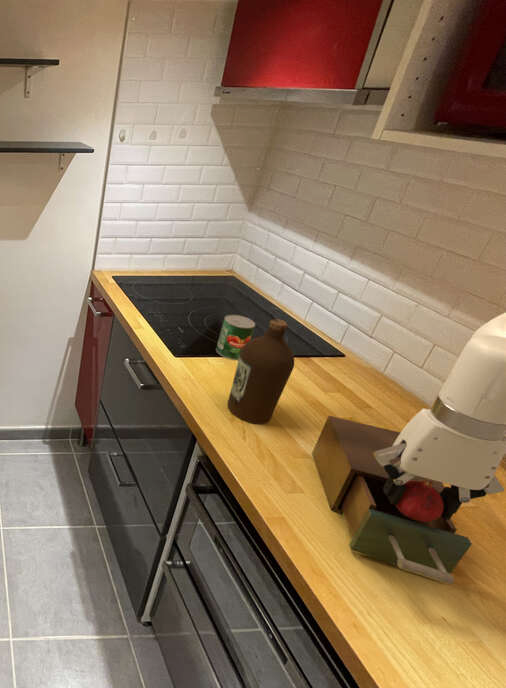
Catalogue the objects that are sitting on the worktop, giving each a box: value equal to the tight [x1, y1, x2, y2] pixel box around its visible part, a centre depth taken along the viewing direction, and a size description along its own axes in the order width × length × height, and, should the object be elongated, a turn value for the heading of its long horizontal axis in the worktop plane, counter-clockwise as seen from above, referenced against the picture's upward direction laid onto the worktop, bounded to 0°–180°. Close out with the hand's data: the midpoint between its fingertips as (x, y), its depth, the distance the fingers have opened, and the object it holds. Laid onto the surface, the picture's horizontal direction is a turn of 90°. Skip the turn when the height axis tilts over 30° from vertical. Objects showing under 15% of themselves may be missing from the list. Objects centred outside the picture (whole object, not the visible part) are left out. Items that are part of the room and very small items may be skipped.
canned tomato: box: [215, 314, 256, 361], centre depth 131 cm, size 8×8×11 cm
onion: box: [396, 479, 444, 522], centre depth 72 cm, size 6×6×8 cm
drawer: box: [340, 473, 473, 586], centre depth 75 cm, size 20×12×9 cm, turn 156°
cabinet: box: [311, 415, 446, 514], centre depth 86 cm, size 16×14×11 cm
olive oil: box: [227, 318, 295, 425], centre depth 104 cm, size 11×11×25 cm
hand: (415, 504), depth 72 cm, fingers closed on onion, 5 cm apart
